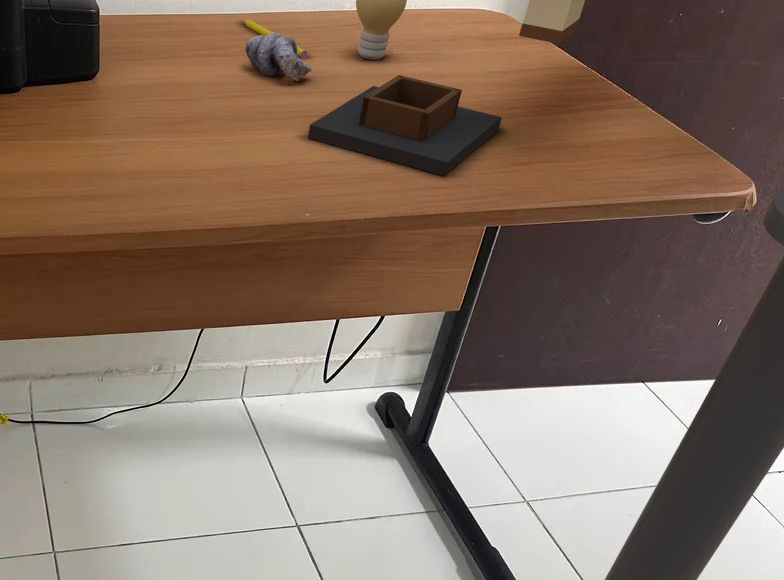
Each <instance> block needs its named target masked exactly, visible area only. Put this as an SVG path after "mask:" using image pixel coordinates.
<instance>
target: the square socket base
mask: <svg viewBox="0 0 784 580" xmlns="http://www.w3.org/2000/svg"><path fill="white" fill-rule="evenodd" d="M461 96H462V89H460V88H457V87H452V86H447V85H443V84H439V83H435V82H431V81H427V80H422V79H418V78H415V77H409V76H405V75H401V74H398V75H396V76H395V77H393V78H392V79H389V80H388V81H386V82H385V83H383V84H382V85H380V86H376V85H373V86H371V87H369V88H368V89H366V90H364V91H363V92H361V93H359V94H358V95H356V96H354V97H353V98H351V99H349V100H348V101H346V102H344V103H343V104H341V105H340V106H338V107H337V108H335V109H333V110H331V111H330V112H329V113H327V114H325V115H324V116H322V117H320V118H319V119H316V121H314V122H312V123H310V124H309V129H308V134H307V138H308V139H311V140H314V141H317V142H320V143H326V144H328V145H332V146H335V147H338V148H343V149H346V150H349V151H353V152H356V153H361V154H364V155H366V156H367V155H368V156H372V157H375V158H378V159H381V160H386V161H389V162H393V163H395V164H399V165H403V166H405V167H411V168H413V169H416V170H420V171H424V172H427V173H430V174H435V175H439V176H442V177H444V176H446V175H447V174H449V172H450V171H451V170H453V169H454V168H455V167H456V166H458V165H459V164H460V163H462V161H463V160H465V159H466V158H467V157H468V156H469V155H471V154H472V153H473V152H474V151H476V150H477V149H478V148H479V147H480V146H481V145H483V144H484V143H485V142H486V141H488V139H490V138H491V137H492V136H493V135H495V134H496V133H497V132H498V131H499V129H500V126H501V122H502V119H503V116H498V115H494V114H491V113H486V112H482V111H478V110H474V109H470V108H466V107H462V106H459V103H460V99H461Z"/></svg>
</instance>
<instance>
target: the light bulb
mask: <svg viewBox="0 0 784 580" xmlns="http://www.w3.org/2000/svg"><path fill="white" fill-rule="evenodd" d="M406 7H407V0H355V8H356V13H357V16H358V18H359V21H360V22H361V24H362V26H363V29H362V30H361V32H360V39H359V41H358V42H359V46H358V49H357V51H358V52H357V53H358V54H359V55H360V56H361V57H362V58H363V59H367V60H379V59H382V58H383V57H385V56H386V55H387V52H388V51H387V49H388V45H389V39H390V30H391V28H392V27H393V26H394V25H395V24H396V23H397V21H398V20H399V19H401V16H402V15H403V14H404V11H405V9H406Z"/></svg>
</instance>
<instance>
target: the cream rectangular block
mask: <svg viewBox="0 0 784 580" xmlns="http://www.w3.org/2000/svg"><path fill="white" fill-rule="evenodd" d="M585 1H586V0H528V4H527V8H526V11H525V15H524V18H523V22H522V24H521V27H520V31H519V34H518V36H519V37H521V38H528V39H531V40H536V41H542V42H547V43H553V44H557V45H559V44H561V43H563V42H564V41H566V39H567V38H569V37H570V36H571V35H572V34H574V33H575V32H576V31H577V29H578V26H579V24H580V20H581V19H580V17H581V14H582V12H583V9H584V5H585Z"/></svg>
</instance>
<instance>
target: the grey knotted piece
mask: <svg viewBox="0 0 784 580" xmlns="http://www.w3.org/2000/svg"><path fill="white" fill-rule="evenodd" d="M272 32H273V33H270V34H267V35H266V36H263V35H261V34H259V35H255V36H253V37H251V38H250V39H248V40H247V41H246V42H245V53H246V56H247V58H248V60H249V62H250V64H251V66H253V68H254V69H256V70H259V71H260V72H261V73H262V75H263V76H267V77H271V76H272V77H274V76H277V75H280V74H282V73H284V75H285V76H286V77H287V78H288V79H290V80H291V79H292V80H293V81H295V82H299V80H300V78H301V77H305V76H306V75H308V74H309V73H310V72H312V71H313V69H312V66H311V65H310V64H305V63H304V62H303V60H302V58H301V57H299V56H298V55H296V53H297V46H298V45H297V42H296V41H295V39H293V38H292V37H291V36H289V35H283V36H282V34H281V33H279V32H274V31H272Z"/></svg>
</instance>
